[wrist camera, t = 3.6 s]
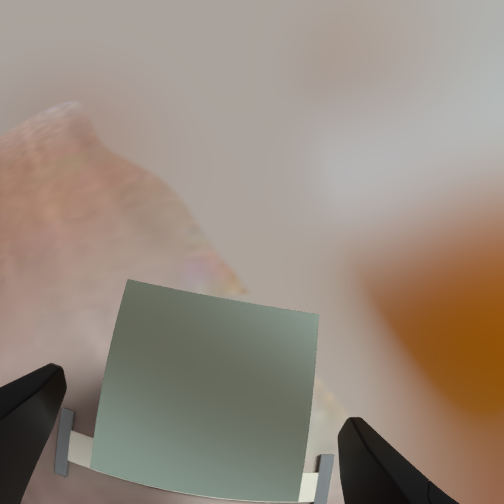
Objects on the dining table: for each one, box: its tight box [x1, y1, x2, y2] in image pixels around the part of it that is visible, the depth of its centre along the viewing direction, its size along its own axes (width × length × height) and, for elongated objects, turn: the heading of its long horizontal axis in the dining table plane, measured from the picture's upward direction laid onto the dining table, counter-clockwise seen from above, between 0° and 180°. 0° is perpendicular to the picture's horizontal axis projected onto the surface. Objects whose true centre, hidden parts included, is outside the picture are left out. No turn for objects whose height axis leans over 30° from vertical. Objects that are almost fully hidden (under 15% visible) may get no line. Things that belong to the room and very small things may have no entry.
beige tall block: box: [90, 279, 319, 502], centre depth 11 cm, size 4×4×12 cm
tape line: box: [54, 408, 334, 504], centre depth 13 cm, size 16×4×1 cm, turn 83°
